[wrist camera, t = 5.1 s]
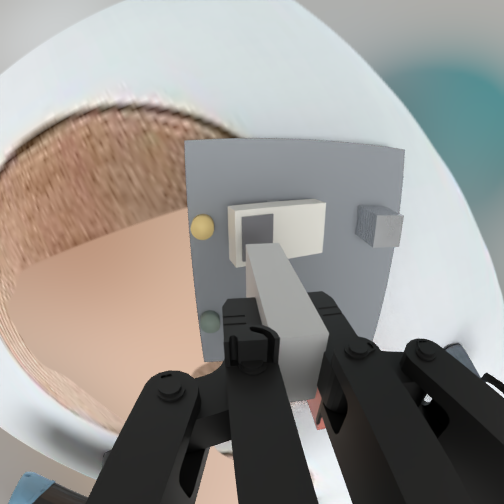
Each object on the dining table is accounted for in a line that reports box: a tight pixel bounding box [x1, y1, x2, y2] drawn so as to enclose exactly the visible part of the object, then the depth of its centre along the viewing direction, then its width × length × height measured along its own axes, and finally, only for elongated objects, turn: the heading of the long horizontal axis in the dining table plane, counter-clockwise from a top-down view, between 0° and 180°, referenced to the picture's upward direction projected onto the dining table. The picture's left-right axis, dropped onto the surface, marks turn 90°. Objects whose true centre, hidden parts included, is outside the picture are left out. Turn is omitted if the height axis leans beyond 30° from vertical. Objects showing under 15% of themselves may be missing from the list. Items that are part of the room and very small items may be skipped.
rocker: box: [228, 199, 326, 268], centre depth 19 cm, size 6×4×2 cm, turn 90°
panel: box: [185, 138, 405, 362], centre depth 23 cm, size 17×19×4 cm
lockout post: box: [355, 205, 404, 248], centre depth 20 cm, size 2×2×3 cm
